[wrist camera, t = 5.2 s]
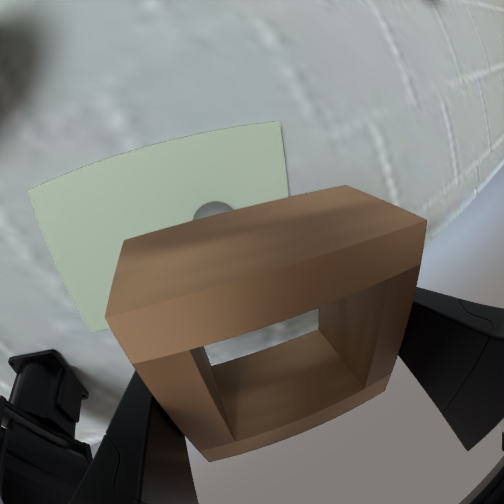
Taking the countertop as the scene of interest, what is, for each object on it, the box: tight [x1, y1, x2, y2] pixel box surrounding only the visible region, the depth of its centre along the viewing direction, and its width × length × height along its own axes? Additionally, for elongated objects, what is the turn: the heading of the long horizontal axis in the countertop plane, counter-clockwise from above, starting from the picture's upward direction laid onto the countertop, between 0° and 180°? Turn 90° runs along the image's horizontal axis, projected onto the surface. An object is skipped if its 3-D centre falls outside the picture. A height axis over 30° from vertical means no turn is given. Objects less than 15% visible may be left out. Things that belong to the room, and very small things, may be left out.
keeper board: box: [28, 121, 289, 333], centre depth 15 cm, size 16×11×5 cm
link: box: [105, 185, 427, 462], centre depth 8 cm, size 7×7×4 cm
